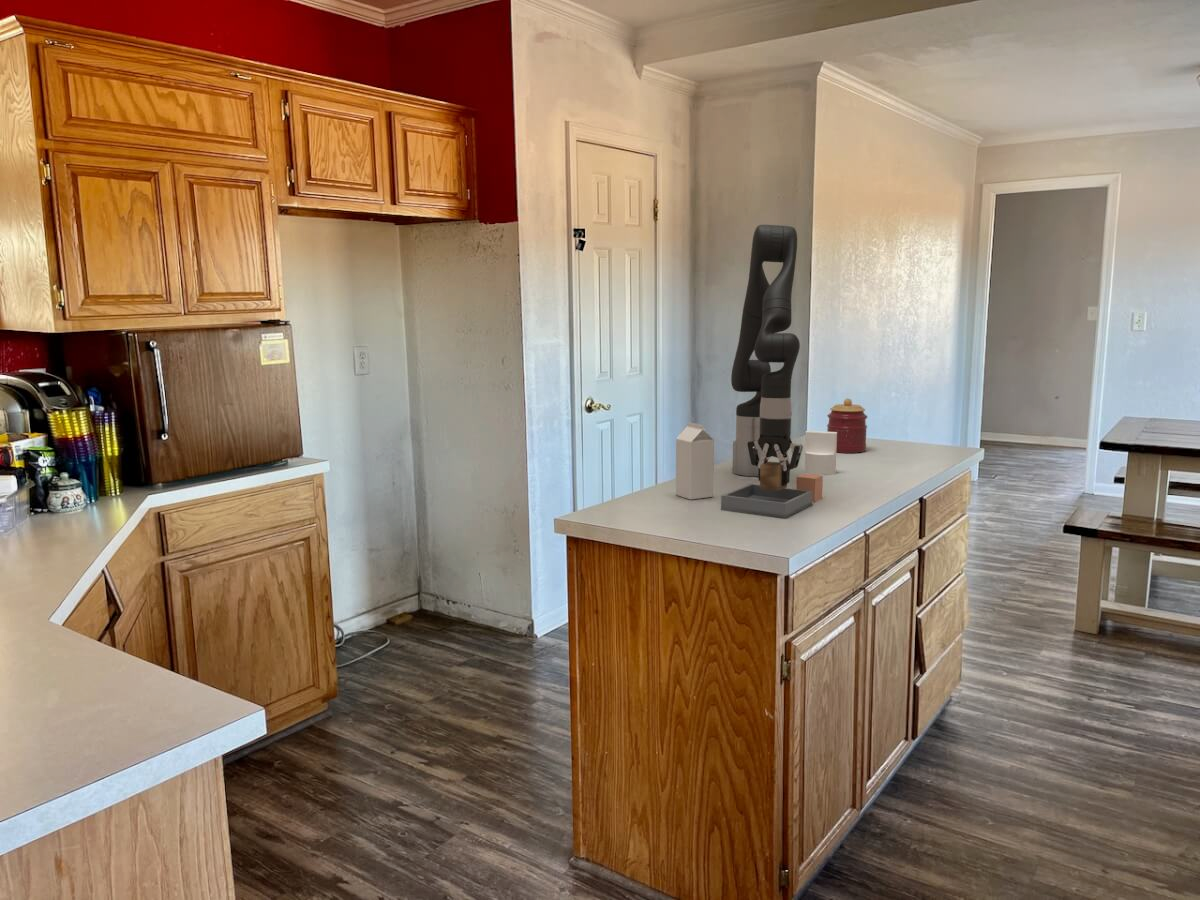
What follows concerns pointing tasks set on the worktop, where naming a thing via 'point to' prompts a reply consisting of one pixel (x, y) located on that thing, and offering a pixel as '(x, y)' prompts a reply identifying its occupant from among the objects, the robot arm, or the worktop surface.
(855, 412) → the canister
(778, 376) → the robot arm
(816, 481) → the terracotta block
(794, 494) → the tray
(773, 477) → the walnut block
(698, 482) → the milk carton
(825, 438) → the cylinder with rectangular tab
